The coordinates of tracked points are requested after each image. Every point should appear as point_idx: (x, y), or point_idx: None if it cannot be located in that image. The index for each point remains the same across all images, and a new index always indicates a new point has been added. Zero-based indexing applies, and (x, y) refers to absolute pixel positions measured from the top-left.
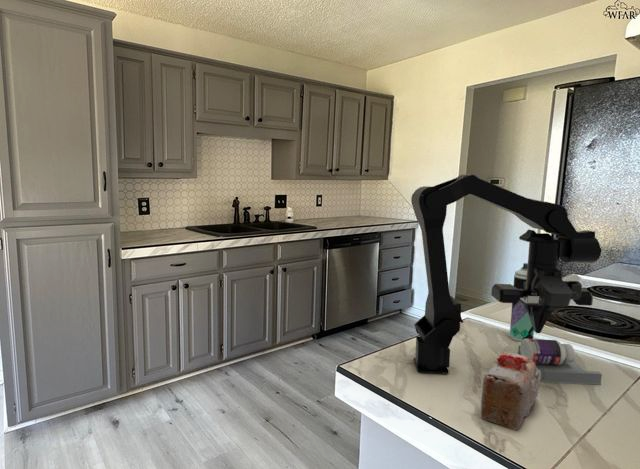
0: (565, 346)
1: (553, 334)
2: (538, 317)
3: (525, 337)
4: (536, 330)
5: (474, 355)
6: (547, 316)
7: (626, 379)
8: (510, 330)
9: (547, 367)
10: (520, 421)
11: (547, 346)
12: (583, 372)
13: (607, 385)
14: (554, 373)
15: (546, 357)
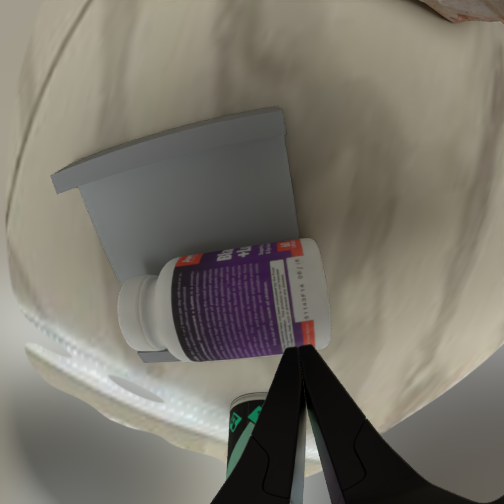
0: (146, 327)
1: (174, 428)
2: (337, 443)
3: (257, 406)
4: (316, 354)
5: (452, 274)
6: (252, 464)
7: (18, 233)
8: None
9: (230, 239)
10: None
11: (230, 302)
12: (106, 161)
13: (56, 167)
14: (234, 118)
15: (238, 254)
